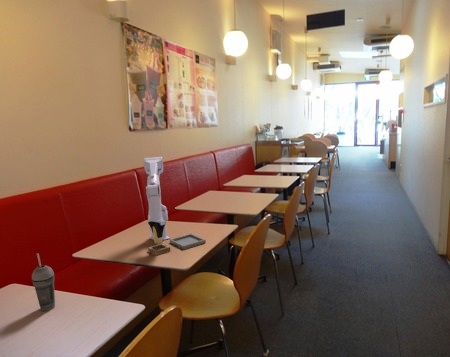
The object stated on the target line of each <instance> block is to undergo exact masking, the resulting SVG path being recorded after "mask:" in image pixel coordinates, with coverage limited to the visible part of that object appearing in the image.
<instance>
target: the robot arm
mask: <svg viewBox="0 0 450 357" xmlns="http://www.w3.org/2000/svg"><path fill="white" fill-rule="evenodd" d="M163 160H164V158H163V156H154V157H144V158H143V167H144V168H143V169H144V171H145V173H146V175H148V176H147V181H146V183H147V184H146V185H147V186H145V193H146V197H147V198H146V199H147V201H148V215H147V221H148V222H147V224H148V225H149V229H150V236H149V238H150V239H151V240H153V241H154V235H153V226H154V227H155V230H156V233H157V237H158V238H161V237H162V240H163V241H165V240H168V239H169V240H170V239H171V237H170V236H168V232H167V231H168V230H167V222H168V220H169V217H168V215H169V214H168V210H167V209H168V208H167V207H166V206H165V205H163V204H162V195H161V193H162V191H161V183H160V177H161V174H162V173H164V161H163Z"/></svg>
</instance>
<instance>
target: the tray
mask: <svg viewBox="0 0 450 357" xmlns="http://www.w3.org/2000/svg"><path fill="white" fill-rule="evenodd" d="M169 243H170V244H172V245H174V247H177V248H178V249H181V250H186V249H190V248H193V247H197V246H201V245H203V244H206V239H205V238H202V237H200V236H198V235H196V234H193V233H189V234H188V233H187V234H185V235H181V236H178V237H174V238H169Z"/></svg>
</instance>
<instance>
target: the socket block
mask: <svg viewBox="0 0 450 357" xmlns="http://www.w3.org/2000/svg"><path fill="white" fill-rule="evenodd" d="M147 251H148V252H149V253H151V254H152V255H154V256H159V255H162V254H165V253H169V252H171V247H170V246H169V245H167V244H165V243H163V242H162V243H159V244H156V245H152V246H148V247H147Z"/></svg>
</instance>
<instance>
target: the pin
mask: <svg viewBox="0 0 450 357" xmlns="http://www.w3.org/2000/svg"><path fill="white" fill-rule="evenodd" d="M153 235H154V240H153V243H154V244H156V245H158V244H162V243H163V241H164V240H162V237H161V238H158V237H157V233H156V230H155V227H154V226H153Z"/></svg>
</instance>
